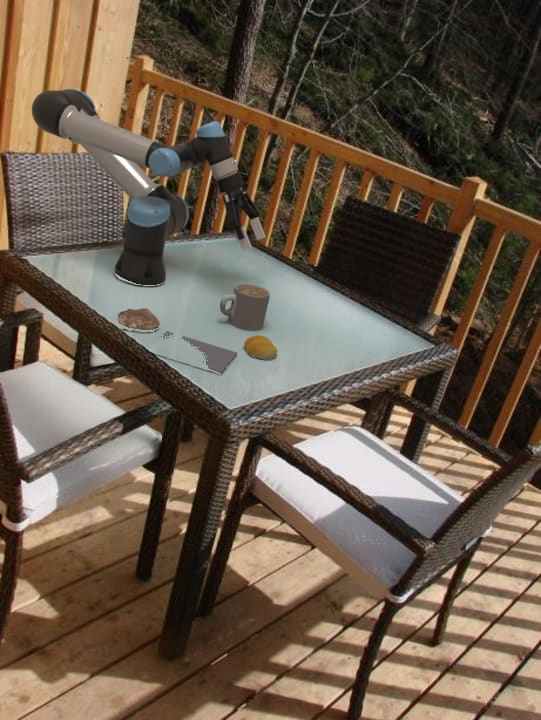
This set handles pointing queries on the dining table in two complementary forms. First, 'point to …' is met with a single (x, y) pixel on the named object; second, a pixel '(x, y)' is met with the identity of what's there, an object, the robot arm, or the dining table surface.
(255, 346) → the bread roll
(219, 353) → the mat
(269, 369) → the dining table surface
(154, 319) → the shell
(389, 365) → the dining table surface
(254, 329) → the coffee mug
